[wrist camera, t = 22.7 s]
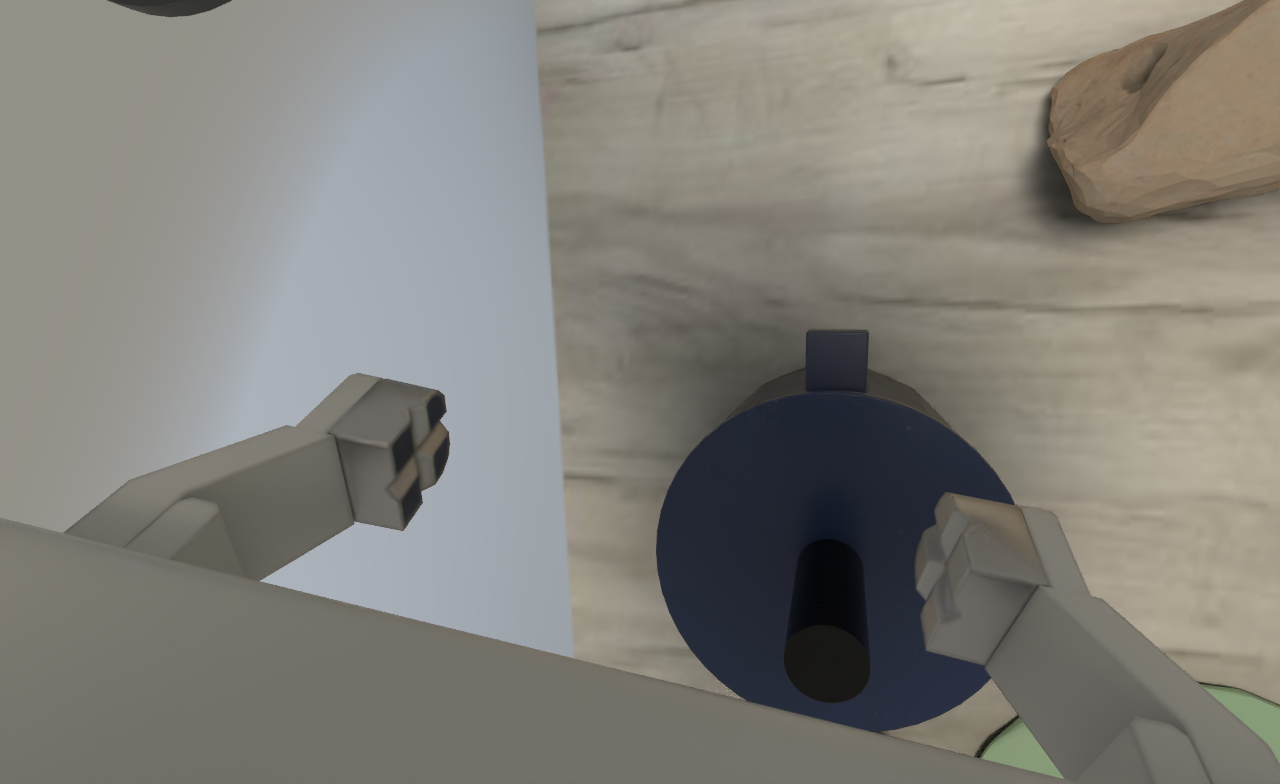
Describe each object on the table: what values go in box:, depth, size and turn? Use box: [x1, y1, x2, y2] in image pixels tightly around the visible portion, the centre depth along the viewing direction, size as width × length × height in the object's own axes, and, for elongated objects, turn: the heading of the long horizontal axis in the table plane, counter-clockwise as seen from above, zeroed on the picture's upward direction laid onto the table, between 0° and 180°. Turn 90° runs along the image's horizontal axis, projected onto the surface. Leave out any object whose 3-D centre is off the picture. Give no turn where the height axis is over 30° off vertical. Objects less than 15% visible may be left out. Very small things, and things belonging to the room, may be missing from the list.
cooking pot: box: [728, 329, 954, 431], centre depth 33 cm, size 14×19×10 cm
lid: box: [656, 390, 1015, 732], centre depth 25 cm, size 15×15×8 cm
